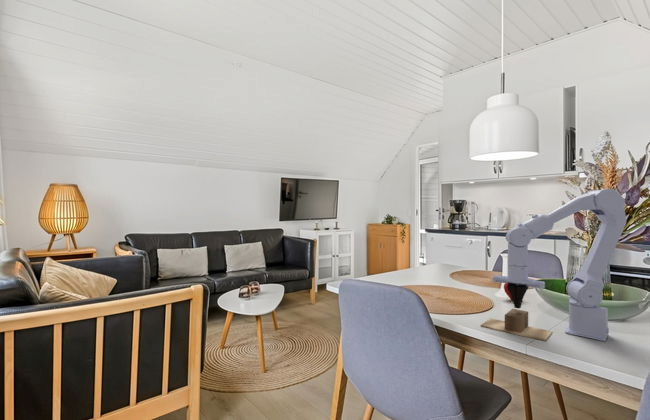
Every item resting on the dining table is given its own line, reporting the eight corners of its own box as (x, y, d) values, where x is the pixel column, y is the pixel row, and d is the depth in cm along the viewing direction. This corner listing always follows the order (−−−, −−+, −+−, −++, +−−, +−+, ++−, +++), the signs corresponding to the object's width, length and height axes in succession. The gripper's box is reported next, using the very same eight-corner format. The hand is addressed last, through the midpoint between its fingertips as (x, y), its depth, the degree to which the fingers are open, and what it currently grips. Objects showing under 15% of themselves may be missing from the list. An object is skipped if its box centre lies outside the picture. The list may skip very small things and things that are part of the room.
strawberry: (526, 301, 137) (526, 277, 137) (510, 303, 136) (510, 278, 136) (515, 298, 143) (515, 274, 143) (499, 299, 142) (499, 275, 141)
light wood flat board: (552, 332, 104) (552, 331, 104) (545, 341, 97) (545, 340, 97) (490, 319, 117) (490, 318, 117) (480, 326, 110) (480, 325, 110)
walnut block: (528, 311, 110) (520, 318, 103) (528, 325, 110) (520, 332, 103) (512, 308, 113) (504, 314, 106) (512, 321, 113) (504, 329, 106)
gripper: (547, 266, 106) (547, 309, 107) (497, 261, 116) (497, 300, 117) (541, 269, 101) (541, 314, 101) (490, 263, 111) (490, 305, 112)
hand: (517, 307), depth 109 cm, fingers closed
